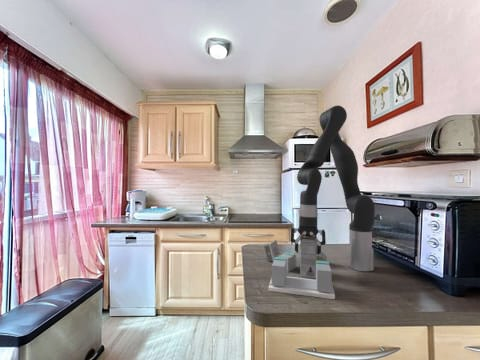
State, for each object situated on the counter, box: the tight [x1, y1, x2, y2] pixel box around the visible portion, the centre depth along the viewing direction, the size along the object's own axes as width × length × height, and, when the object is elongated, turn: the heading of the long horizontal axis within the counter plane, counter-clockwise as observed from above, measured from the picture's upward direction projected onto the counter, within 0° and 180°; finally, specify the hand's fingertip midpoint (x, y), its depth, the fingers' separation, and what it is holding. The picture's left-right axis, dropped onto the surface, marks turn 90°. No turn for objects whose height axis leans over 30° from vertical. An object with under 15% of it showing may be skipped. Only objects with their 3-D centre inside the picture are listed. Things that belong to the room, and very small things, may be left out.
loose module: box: [278, 251, 297, 273], centre depth 106 cm, size 5×7×6 cm
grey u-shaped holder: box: [268, 257, 336, 300], centre depth 86 cm, size 22×12×9 cm, turn 75°
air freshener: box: [317, 244, 328, 262], centre depth 113 cm, size 11×8×10 cm
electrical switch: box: [263, 239, 281, 263], centre depth 118 cm, size 9×5×9 cm, turn 152°
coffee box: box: [299, 234, 318, 279], centre depth 100 cm, size 9×6×16 cm
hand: (307, 253), depth 100 cm, fingers open, 8 cm apart
